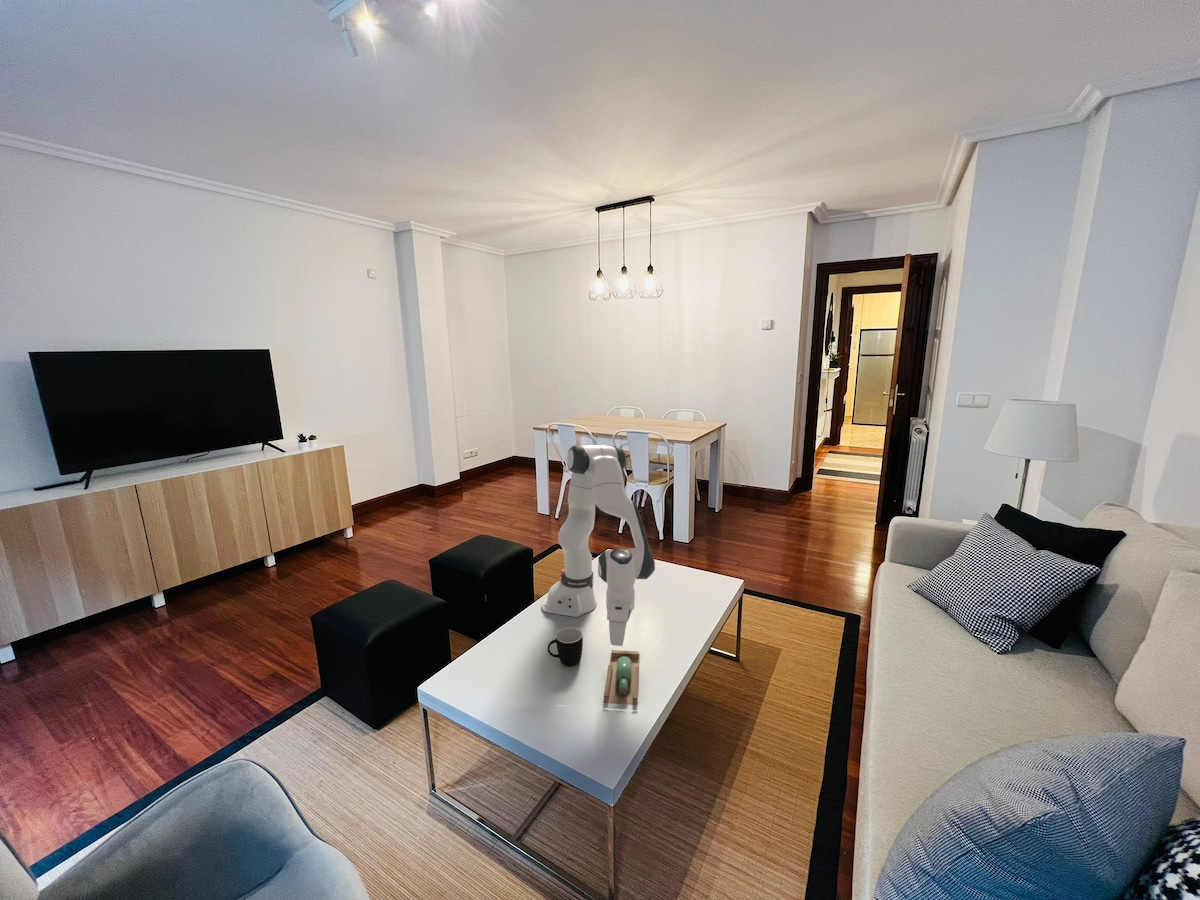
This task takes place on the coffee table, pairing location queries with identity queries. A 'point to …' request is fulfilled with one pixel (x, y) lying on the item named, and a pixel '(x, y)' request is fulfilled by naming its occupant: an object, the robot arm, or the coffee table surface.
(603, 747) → the coffee table surface
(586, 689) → the coffee table surface
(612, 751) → the coffee table surface
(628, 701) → the rest
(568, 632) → the mug
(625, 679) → the bottle
